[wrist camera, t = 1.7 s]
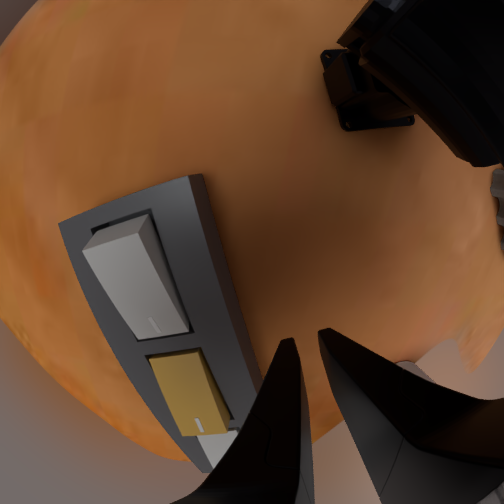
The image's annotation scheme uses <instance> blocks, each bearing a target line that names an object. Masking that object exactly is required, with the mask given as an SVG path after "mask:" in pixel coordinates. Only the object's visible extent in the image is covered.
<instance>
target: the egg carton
mask: <svg viewBox="0 0 504 504" xmlns="http://www.w3.org/2000/svg"><path fill="white" fill-rule="evenodd" d="M490 190H491V194H492V196H494V197H498V199H499V203H500V208H499V212H498V214H497V216H496V218H497V223H498V224H499V225H502V226H504V170H500V169H496V170H495V171H493V183H492V185H491V187H490ZM501 249H502V250H504V236H503V239H502V241H501Z"/></svg>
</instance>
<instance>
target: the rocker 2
mask: <svg viewBox="0 0 504 504" xmlns="http://www.w3.org/2000/svg"><path fill="white" fill-rule="evenodd" d="M149 361H150V363H151V366H152V369H153V371H154V374H155V376H156V379H157V381H158V384H159V386H160V389H161V391H162V393H163V396H164V398H165V400H166V402H167V405H168V407H169V409H170V411H171V414H172V416H173V418H174V420H175V422H176V424H177V426H178V428H179V430H180V432H181V434H182V436H200V435H213V434H224V433H228V427H229V422H230V414H229V412H228V409H227V406H226V403H225V401H224V398H223V395H222V392H221V390H220V388H219V386H218V384H217V382H216V380H215V377H214V375H213V373H212V371H211V369H210V366H209V364H208V362H207V360H206V357H205V355H204V353H203V351H202V348H201V347H197V348H191V349H185V350H178V351H171V352H164V353H157V354H153V355H152V356H151V357H150V359H149Z"/></svg>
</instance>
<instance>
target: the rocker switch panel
mask: <svg viewBox="0 0 504 504" xmlns="http://www.w3.org/2000/svg"><path fill="white" fill-rule="evenodd" d="M146 214H149V216H150V218H151V221H152V223H153V226H154V228H155V230H156V233H157V235H158V237H159V240H160V242H161V244H162V247H163V249H164V251H165V254H166V257H167V260H168V263H169V265H170V268H171V271H172V274H173V277H174V280H175V282H176V285H177V288H178V291H179V293H180V296H181V299H182V301H183V304H184V306H185V309H186V312H187V314H188V317H189V319H190V323H189V332H184V333H178V334H172V335H166V336H159V337H153V338H146V339H138V338H137V337H136V335H135V334H134V333H133V331H132V330H131V329H130V327H129V326H128V324H127V323H126V321H125V320H124V319H123V317H122V316H121V314H120V313H119V311H118V310H117V308H116V307H115V305H114V304H113V302H112V301H111V299H110V298H109V296H108V294H107V293H106V291H105V290H104V288H103V286H102V285H101V283H100V282H99V280H98V278H97V277H96V275H95V273H94V272H93V270H92V268H91V266H90V265H89V263H88V261H87V259H86V258H85V256H84V254H83V252H82V250H83V249H84V247H85V246H86V245H87V243H88V242H89V241H90V239H91V238H92V237H93V235H94V234H95V233H96V232H97V231H99V230H101V229H104V228H107V227H110V226H113V225H116V224H119V223H122V222H125V221H128V220H131V219H134V218H137V217H140V216H143V215H146ZM58 225H59V228H60V231H61V234H62V237H63V240H64V243H65V246H66V249H67V252H68V255H69V258H70V260H71V263H72V266H73V268H74V271H75V273H76V276H77V278H78V281H79V283H80V286H81V288H82V290H83V293H84V295H85V297H86V299H87V301H88V304H89V306H90V308H91V310H92V312H93V314H94V316H95V318H96V320H97V322H98V324H99V326H100V328H101V330H102V332H103V334H104V336H105V338H106V340H107V342H108V344H109V345H110V347H111V349H112V351H113V353H114V354H115V356H116V358H117V359H118V361H119V363H120V365H121V366H122V368H123V370H124V371H125V373H126V374H127V376H128V378H129V379H130V381H131V382H132V384H133V385H134V387H135V389H136V390H137V392H138V393H139V395H140V396H141V397H142V399H143V400H144V402H145V403H146V405H147V406H148V407H149V409H150V410H151V412H152V413H153V414H154V416H155V417H156V418H157V420H158V421H159V422H160V424H161V425H162V426H163V428H164V429H165V430H166V431H167V433H168V434H169V435H170V436H171V438H172V439H173V440H174V441H175V443H176V444H177V445H178V446H179V447H180V449H181V450H182V451H183V452H184V453H185V454H186V455H187V457H188V458H189V459H190V460H191V461H192V462H193V463H194V464H195V465H196V467H197V468H198V469H199V470H200V471H201V472H202V473H211V472H212V470H213V467H212V465H211V463H210V461H209V459H208V458H207V456H206V454H205V452H204V450H203V448H202V446H201V444H200V442H199V440H198V438H197V436H182V434H181V432H180V430H179V428H178V426H177V424H176V422H175V420H174V418H173V416H172V414H171V411H170V409H169V407H168V405H167V402H166V400H165V398H164V396H163V393H162V391H161V389H160V386H159V384H158V381H157V379H156V376H155V374H154V371H153V369H152V366H151V363H150V361H149V359H150V357H151V356H152V355H153V354H157V353H164V352H171V351H178V350H185V349H191V348H197V347H201V348H202V351H203V353H204V355H205V357H206V360H207V362H208V364H209V366H210V369H211V371H212V373H213V375H214V377H215V380H216V382H217V384H218V386H219V388H220V390H221V392H222V395H223V398H224V401H225V403H226V406H227V409H228V412H229V414H230V422H229V427H228V428H233V427H239V428H240V429H241V427H242V425H243V423H244V421H245V419H246V417H247V415H248V413H249V411H250V409H251V407H252V405H253V402H254V400H255V398H256V396H257V394H258V392H259V389H260V387H261V385H262V383H263V379H262V376H261V373H260V370H259V367H258V364H257V361H256V357H255V354H254V351H253V348H252V345H251V342H250V338H249V335H248V332H247V329H246V326H245V322H244V319H243V316H242V313H241V309H240V306H239V303H238V299H237V296H236V293H235V289H234V286H233V283H232V279H231V276H230V272H229V269H228V266H227V262H226V259H225V255H224V252H223V248H222V245H221V241H220V238H219V234H218V230H217V227H216V223H215V220H214V216H213V212H212V209H211V205H210V201H209V198H208V194H207V190H206V187H205V183H204V179H203V175H202V174H195V175H188V176H184V177H181V178H178V179H175V180H171V181H168V182H165V183H162V184H159V185H156V186H153V187H150V188H147V189H144V190H141V191H138V192H135V193H133V194H130V195H127V196H124V197H122V198H119V199H116V200H113V201H111V202H108V203H106V204H103V205H101V206H98V207H96V208H93V209H91V210H88V211H86V212H83V213H81V214H78V215H76V216H74V217H71V218H69V219H67V220H65V221H62V222H60V223H58Z"/></svg>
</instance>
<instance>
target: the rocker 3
mask: <svg viewBox="0 0 504 504" xmlns="http://www.w3.org/2000/svg"><path fill="white" fill-rule="evenodd" d="M239 431H240V428H239V427H233V428H228V433H224V434H213V435H200V436H197V438H198V440H199V442H200V444H201V446H202V448H203V450H204V452H205V454H206V456H207V458H208V459H209V461H210V463H211V465H212V467H213V469H214V468H215V466H216V465H217V464H218V462H219V461H220V459H221V458H222V457H223V455H224V454H225V453H226V451H227V450H228V448H229V447H230V445H231V444H232V442H233V441H234V439H235V438H236V436H237V434H238V433H239Z"/></svg>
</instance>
